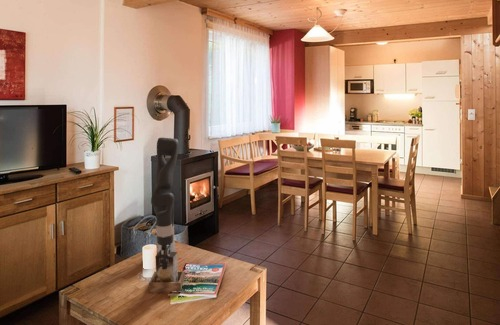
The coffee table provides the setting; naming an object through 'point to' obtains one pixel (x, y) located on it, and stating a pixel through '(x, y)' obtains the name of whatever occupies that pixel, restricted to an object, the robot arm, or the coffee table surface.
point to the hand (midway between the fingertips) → (166, 265)
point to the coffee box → (171, 271)
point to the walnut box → (166, 284)
